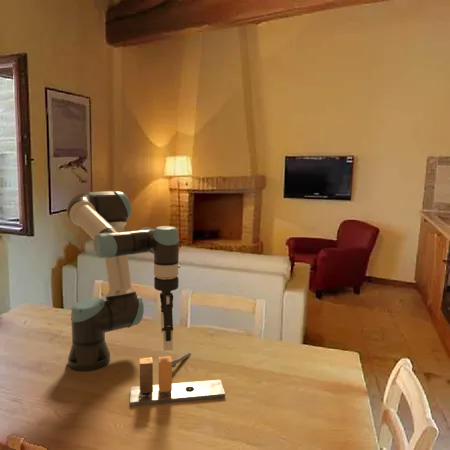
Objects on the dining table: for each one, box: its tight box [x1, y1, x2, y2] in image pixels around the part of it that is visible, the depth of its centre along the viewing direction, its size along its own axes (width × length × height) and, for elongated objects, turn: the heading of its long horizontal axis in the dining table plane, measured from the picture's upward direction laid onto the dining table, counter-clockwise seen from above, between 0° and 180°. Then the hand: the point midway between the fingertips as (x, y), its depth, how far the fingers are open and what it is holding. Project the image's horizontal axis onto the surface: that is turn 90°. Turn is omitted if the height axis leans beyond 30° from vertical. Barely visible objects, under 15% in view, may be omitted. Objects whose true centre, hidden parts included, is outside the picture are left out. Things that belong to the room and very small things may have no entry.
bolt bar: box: [129, 356, 226, 408], centre depth 138 cm, size 9×30×13 cm, turn 101°
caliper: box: [171, 351, 192, 369], centre depth 158 cm, size 20×1×6 cm, turn 160°
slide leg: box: [158, 355, 173, 392], centre depth 137 cm, size 4×4×11 cm
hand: (166, 340), depth 135 cm, fingers open, 13 cm apart
